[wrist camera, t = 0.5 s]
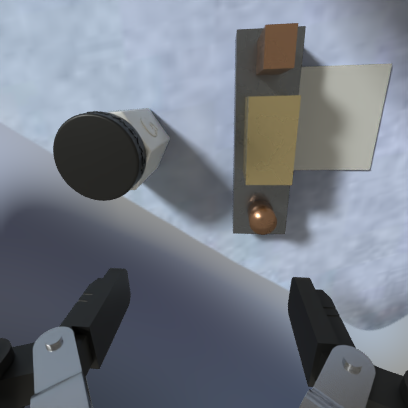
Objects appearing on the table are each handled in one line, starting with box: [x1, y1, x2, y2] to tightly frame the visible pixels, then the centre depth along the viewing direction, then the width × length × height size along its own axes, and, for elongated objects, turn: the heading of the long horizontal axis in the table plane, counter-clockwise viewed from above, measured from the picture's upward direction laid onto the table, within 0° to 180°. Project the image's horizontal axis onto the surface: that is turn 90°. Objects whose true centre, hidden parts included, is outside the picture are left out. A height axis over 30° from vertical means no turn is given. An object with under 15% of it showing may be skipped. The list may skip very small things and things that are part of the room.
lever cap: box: [243, 95, 301, 185], centre depth 26 cm, size 8×4×5 cm, turn 2°
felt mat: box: [294, 64, 392, 170], centre depth 32 cm, size 12×10×1 cm
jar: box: [53, 108, 170, 201], centre depth 30 cm, size 9×8×12 cm
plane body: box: [233, 23, 306, 235], centre depth 29 cm, size 22×6×11 cm, turn 2°
